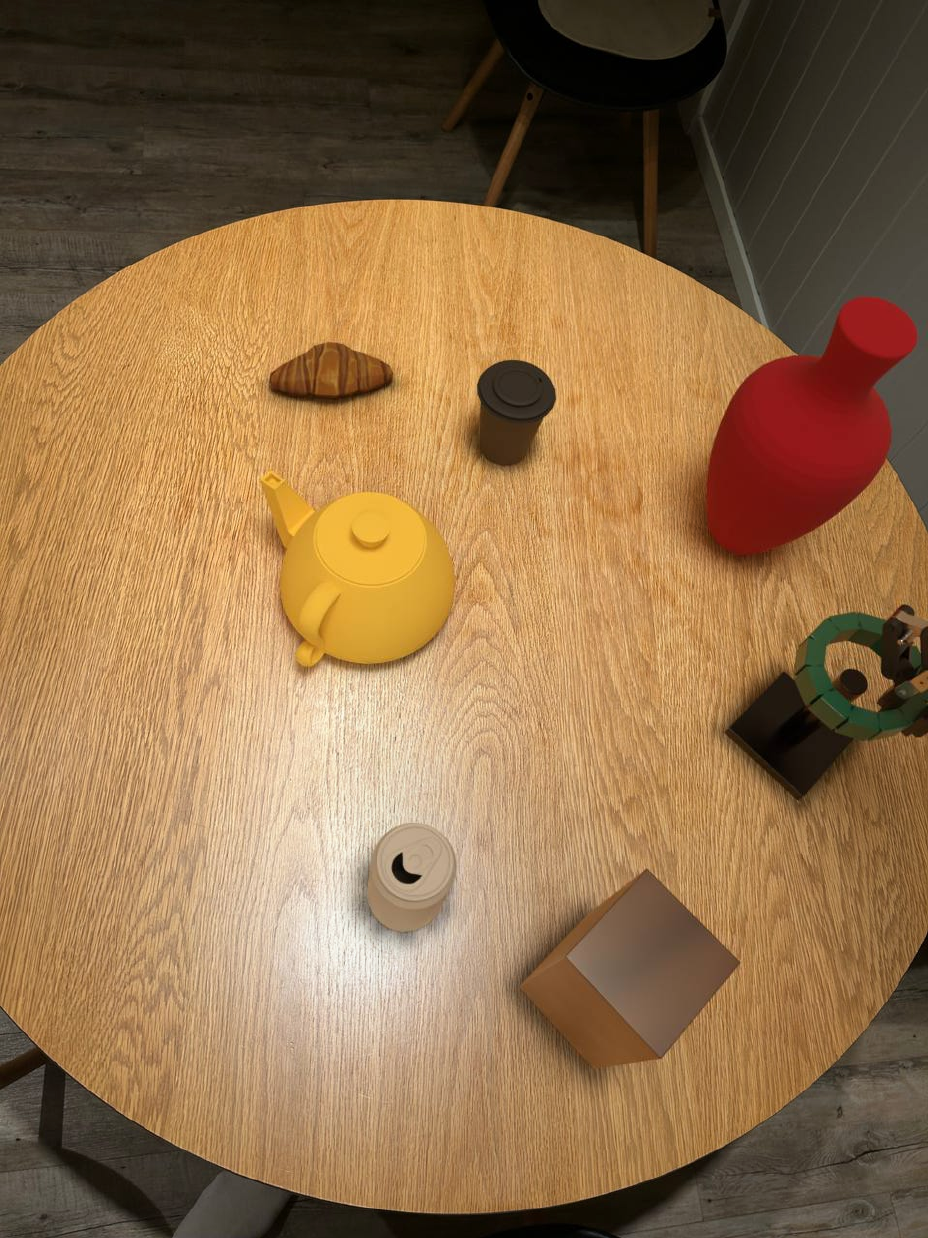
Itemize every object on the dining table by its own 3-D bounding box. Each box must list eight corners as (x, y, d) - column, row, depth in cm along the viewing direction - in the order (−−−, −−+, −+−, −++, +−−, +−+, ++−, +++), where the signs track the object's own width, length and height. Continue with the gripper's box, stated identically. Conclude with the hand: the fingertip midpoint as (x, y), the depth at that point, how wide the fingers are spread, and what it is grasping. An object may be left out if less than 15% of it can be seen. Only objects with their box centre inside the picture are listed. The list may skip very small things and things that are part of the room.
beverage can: (351, 889, 79) (353, 855, 68) (409, 840, 81) (420, 800, 71) (400, 950, 77) (409, 925, 66) (458, 898, 79) (476, 866, 69)
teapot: (483, 581, 94) (502, 509, 83) (372, 724, 86) (377, 667, 74) (322, 480, 97) (319, 398, 86) (201, 608, 89) (180, 537, 78)
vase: (773, 465, 105) (918, 250, 79) (826, 577, 99) (1003, 385, 72) (652, 482, 102) (761, 265, 76) (699, 600, 96) (835, 408, 69)
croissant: (387, 357, 106) (389, 324, 101) (397, 404, 103) (399, 373, 99) (266, 365, 103) (263, 332, 99) (272, 413, 100) (269, 381, 96)
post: (851, 740, 91) (926, 686, 79) (797, 800, 87) (868, 753, 75) (778, 675, 93) (841, 614, 81) (724, 732, 89) (781, 676, 78)
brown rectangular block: (659, 991, 78) (741, 962, 62) (592, 1069, 74) (661, 1059, 59) (586, 915, 80) (647, 867, 64) (518, 987, 77) (564, 956, 61)
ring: (937, 686, 79) (954, 675, 77) (870, 765, 75) (885, 755, 73) (839, 603, 82) (853, 590, 79) (769, 675, 78) (781, 663, 75)
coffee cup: (555, 448, 103) (575, 386, 94) (505, 489, 99) (521, 429, 91) (501, 404, 105) (515, 340, 96) (450, 443, 101) (461, 380, 93)
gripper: (920, 585, 62) (805, 687, 77) (1099, 731, 59) (942, 808, 74) (976, 524, 65) (855, 634, 80) (1150, 660, 61) (989, 748, 77)
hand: (897, 717), depth 77 cm, fingers closed on ring, 1 cm apart
